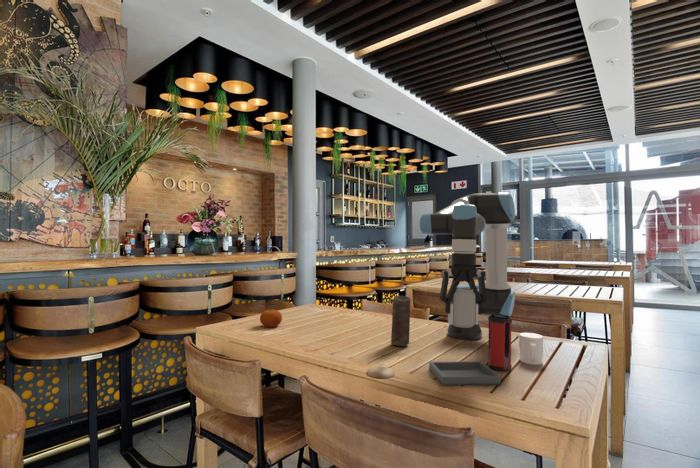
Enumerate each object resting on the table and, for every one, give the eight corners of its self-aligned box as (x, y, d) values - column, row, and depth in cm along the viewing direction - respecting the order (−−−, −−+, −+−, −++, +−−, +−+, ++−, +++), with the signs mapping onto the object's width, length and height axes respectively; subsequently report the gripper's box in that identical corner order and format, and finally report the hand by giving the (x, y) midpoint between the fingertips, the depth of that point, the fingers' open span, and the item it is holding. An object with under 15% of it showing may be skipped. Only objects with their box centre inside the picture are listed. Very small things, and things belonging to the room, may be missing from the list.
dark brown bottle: (411, 344, 157) (412, 296, 157) (406, 349, 150) (407, 299, 150) (394, 342, 160) (395, 295, 160) (388, 346, 153) (389, 297, 154)
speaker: (499, 372, 125) (500, 318, 125) (482, 365, 132) (483, 314, 133) (516, 370, 128) (517, 317, 129) (499, 362, 135) (499, 312, 136)
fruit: (279, 329, 178) (279, 312, 178) (257, 329, 178) (257, 312, 179) (283, 324, 189) (283, 308, 189) (263, 323, 189) (263, 307, 189)
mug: (517, 331, 145) (540, 333, 142) (517, 355, 144) (540, 358, 142) (521, 339, 133) (546, 341, 131) (521, 365, 133) (546, 368, 131)
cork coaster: (391, 368, 128) (391, 366, 128) (397, 378, 119) (397, 376, 119) (365, 368, 127) (365, 366, 127) (369, 378, 118) (369, 376, 118)
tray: (480, 368, 129) (480, 361, 129) (500, 385, 115) (500, 376, 115) (429, 369, 128) (429, 361, 128) (442, 385, 114) (442, 377, 114)
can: (476, 329, 117) (477, 290, 117) (451, 327, 119) (452, 289, 119) (473, 323, 124) (474, 287, 124) (450, 322, 126) (450, 286, 126)
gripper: (489, 252, 126) (488, 320, 126) (429, 251, 125) (428, 320, 124) (499, 253, 119) (498, 326, 118) (436, 252, 117) (435, 326, 117)
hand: (462, 323), depth 121 cm, fingers closed on can, 7 cm apart
